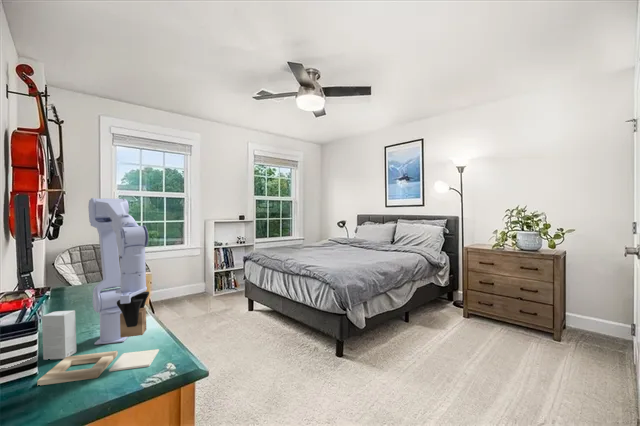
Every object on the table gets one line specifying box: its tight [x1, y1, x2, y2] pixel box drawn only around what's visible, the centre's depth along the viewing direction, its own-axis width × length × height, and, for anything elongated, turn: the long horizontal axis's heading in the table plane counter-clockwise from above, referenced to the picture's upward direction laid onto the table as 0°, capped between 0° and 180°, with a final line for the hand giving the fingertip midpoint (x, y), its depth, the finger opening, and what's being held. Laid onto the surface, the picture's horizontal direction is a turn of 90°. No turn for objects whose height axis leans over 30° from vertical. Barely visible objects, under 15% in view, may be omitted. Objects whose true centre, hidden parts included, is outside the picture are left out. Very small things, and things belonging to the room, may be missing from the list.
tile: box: [108, 348, 160, 373], centre depth 81 cm, size 9×9×1 cm
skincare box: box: [41, 310, 77, 361], centre depth 85 cm, size 6×4×12 cm
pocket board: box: [36, 350, 119, 386], centre depth 77 cm, size 12×12×1 cm
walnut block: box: [120, 307, 147, 338], centre depth 81 cm, size 4×5×6 cm
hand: (134, 323), depth 81 cm, fingers closed on walnut block, 4 cm apart
